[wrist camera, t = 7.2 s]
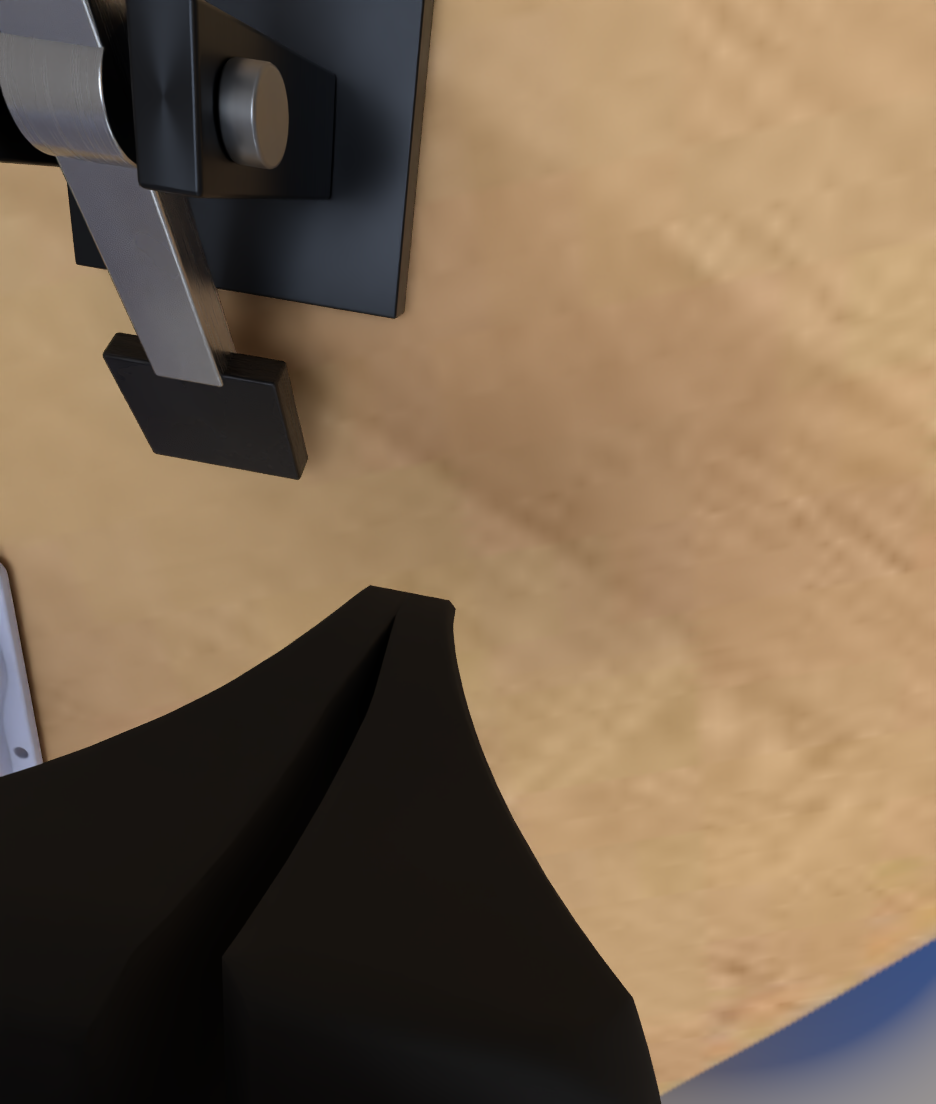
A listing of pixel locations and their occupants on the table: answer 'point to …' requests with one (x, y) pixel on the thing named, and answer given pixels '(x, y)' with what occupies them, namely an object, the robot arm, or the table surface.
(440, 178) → the table surface
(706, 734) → the table surface
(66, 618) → the table surface
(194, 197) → the bracket
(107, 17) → the lever
